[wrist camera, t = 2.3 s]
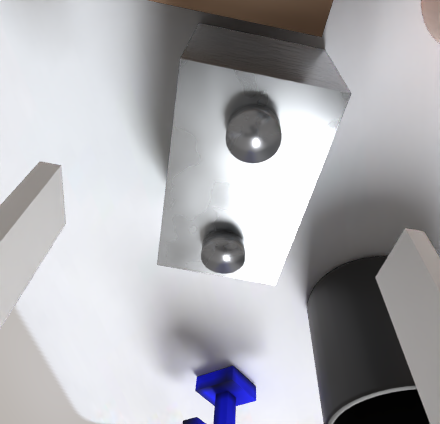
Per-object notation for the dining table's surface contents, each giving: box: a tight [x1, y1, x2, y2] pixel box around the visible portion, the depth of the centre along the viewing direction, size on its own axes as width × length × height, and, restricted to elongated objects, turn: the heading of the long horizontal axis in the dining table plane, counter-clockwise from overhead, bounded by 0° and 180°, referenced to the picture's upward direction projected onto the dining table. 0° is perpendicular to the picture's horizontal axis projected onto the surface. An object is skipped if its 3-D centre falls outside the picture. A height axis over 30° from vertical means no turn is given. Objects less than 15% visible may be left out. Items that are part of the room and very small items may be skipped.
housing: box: [157, 23, 351, 285], centre depth 18 cm, size 10×6×7 cm, turn 170°
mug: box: [307, 256, 430, 424], centre depth 25 cm, size 9×12×9 cm
